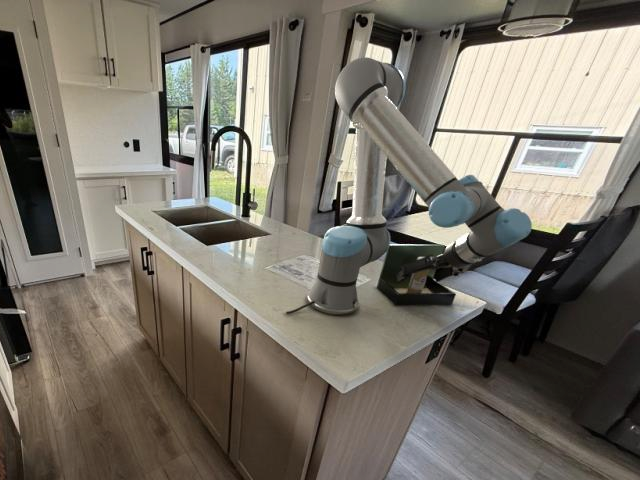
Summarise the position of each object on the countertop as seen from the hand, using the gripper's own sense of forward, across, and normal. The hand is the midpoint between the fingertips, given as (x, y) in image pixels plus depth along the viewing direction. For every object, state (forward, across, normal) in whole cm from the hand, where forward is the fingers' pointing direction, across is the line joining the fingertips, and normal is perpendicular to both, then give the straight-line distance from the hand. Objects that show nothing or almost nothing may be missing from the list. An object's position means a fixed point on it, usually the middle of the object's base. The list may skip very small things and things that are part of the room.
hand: (417, 278), depth 108 cm
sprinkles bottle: (+4, 0, -5) cm, 7 cm away
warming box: (+4, 0, -5) cm, 6 cm away
